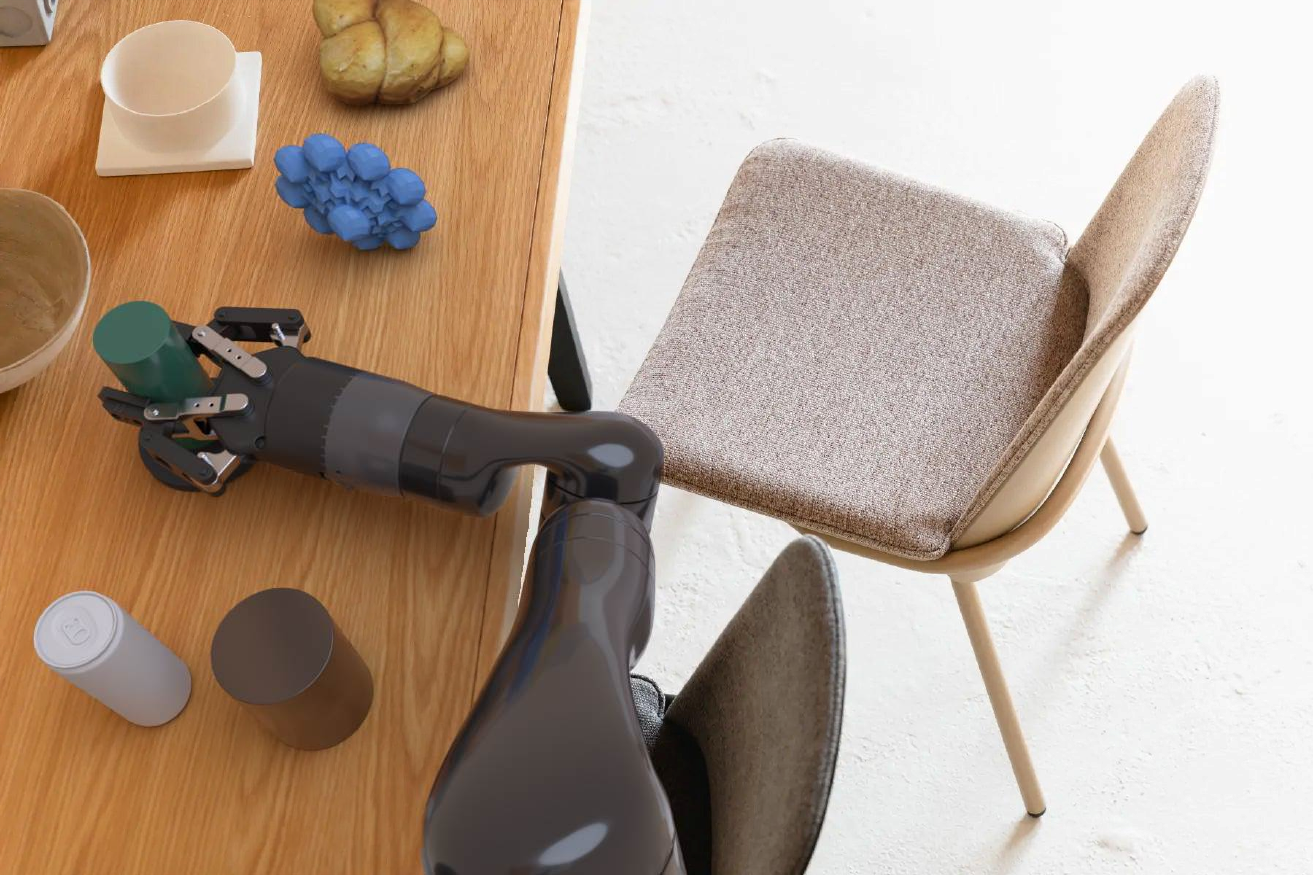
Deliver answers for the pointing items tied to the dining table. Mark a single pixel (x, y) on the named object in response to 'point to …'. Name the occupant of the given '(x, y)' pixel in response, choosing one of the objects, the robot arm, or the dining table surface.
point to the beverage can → (112, 658)
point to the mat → (214, 448)
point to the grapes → (353, 193)
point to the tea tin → (151, 357)
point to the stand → (292, 668)
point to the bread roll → (385, 50)
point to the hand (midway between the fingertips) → (127, 365)
